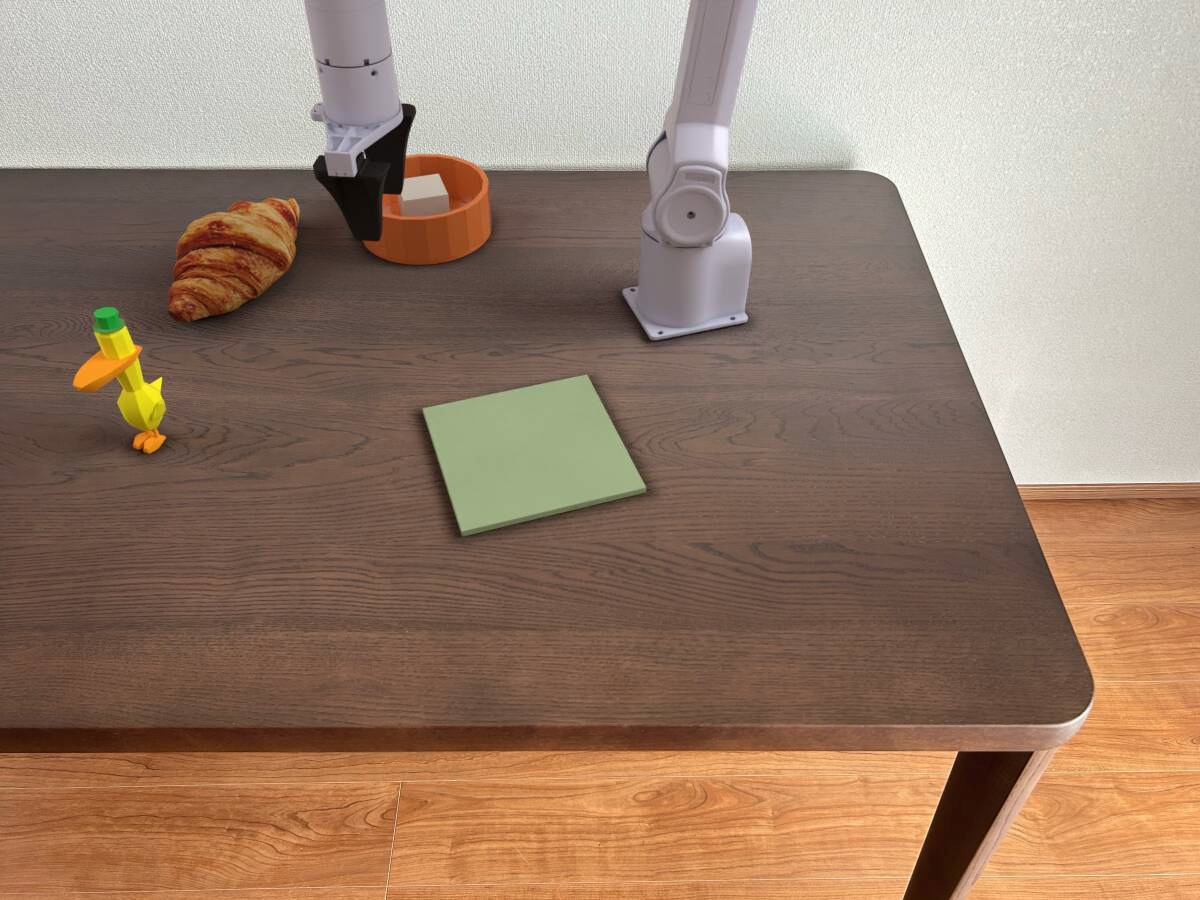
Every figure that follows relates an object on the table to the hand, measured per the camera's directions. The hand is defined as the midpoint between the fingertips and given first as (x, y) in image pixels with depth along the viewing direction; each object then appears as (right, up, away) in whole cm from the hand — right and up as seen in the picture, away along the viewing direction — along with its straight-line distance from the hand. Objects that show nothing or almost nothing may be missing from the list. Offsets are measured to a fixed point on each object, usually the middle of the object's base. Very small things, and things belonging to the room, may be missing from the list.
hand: (379, 214), depth 82 cm
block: (+1, +3, +17) cm, 17 cm away
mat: (+13, -20, -7) cm, 25 cm away
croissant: (-15, -3, +11) cm, 19 cm away
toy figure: (-16, -20, -6) cm, 26 cm away
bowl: (+1, +3, +17) cm, 17 cm away
